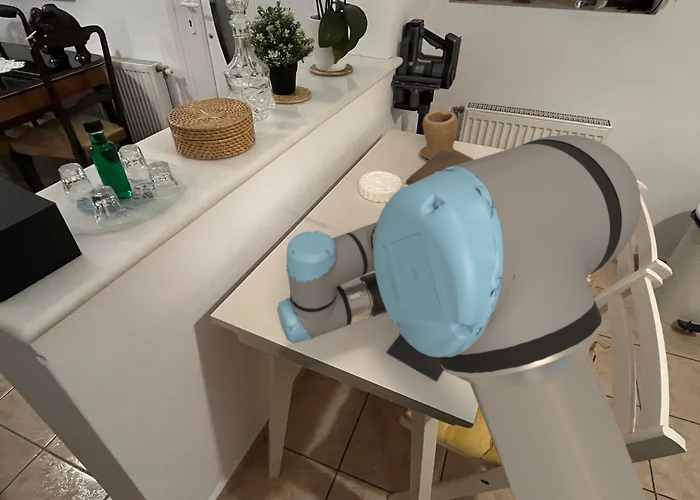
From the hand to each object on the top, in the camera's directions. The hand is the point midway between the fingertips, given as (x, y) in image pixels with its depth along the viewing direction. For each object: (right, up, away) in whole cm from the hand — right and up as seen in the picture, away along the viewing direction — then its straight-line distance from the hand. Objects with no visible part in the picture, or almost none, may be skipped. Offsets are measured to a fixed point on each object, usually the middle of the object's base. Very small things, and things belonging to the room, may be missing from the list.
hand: (469, 262), depth 84 cm
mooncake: (-15, +19, +35) cm, 43 cm away
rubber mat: (-10, -15, -6) cm, 19 cm away
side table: (+1, +8, +23) cm, 24 cm away
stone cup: (+5, +30, +49) cm, 58 cm away
